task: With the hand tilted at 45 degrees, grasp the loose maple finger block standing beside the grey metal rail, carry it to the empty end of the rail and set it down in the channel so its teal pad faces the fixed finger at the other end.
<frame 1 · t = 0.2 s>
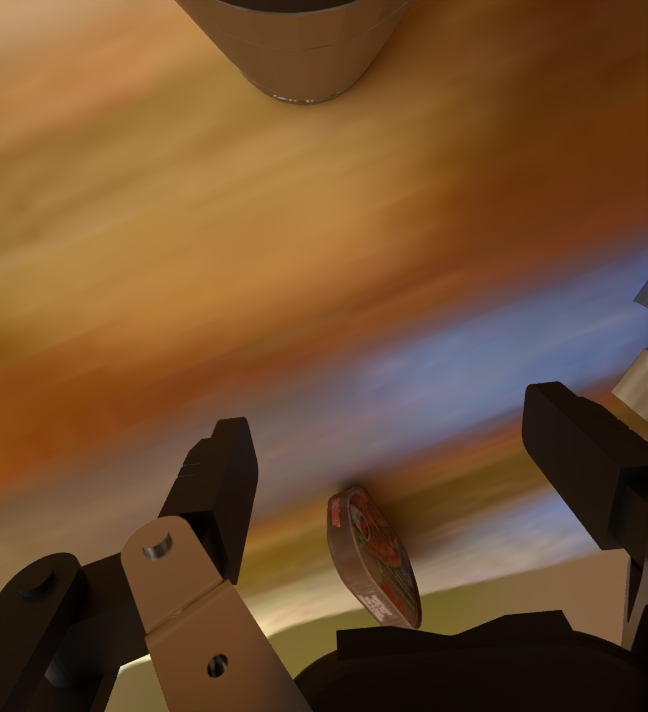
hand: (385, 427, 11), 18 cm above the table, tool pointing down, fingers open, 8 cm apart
tin: (369, 519, 39), on the table
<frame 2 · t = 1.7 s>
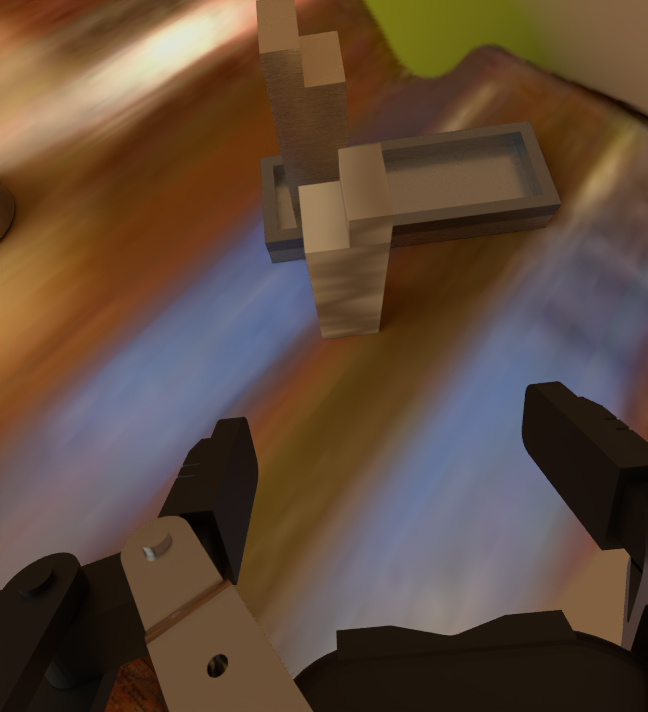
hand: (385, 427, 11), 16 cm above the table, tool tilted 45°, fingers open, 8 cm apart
tin: (125, 680, 23), on the table
maple finger: (347, 310, 30), on the table
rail: (398, 203, 33), on the table
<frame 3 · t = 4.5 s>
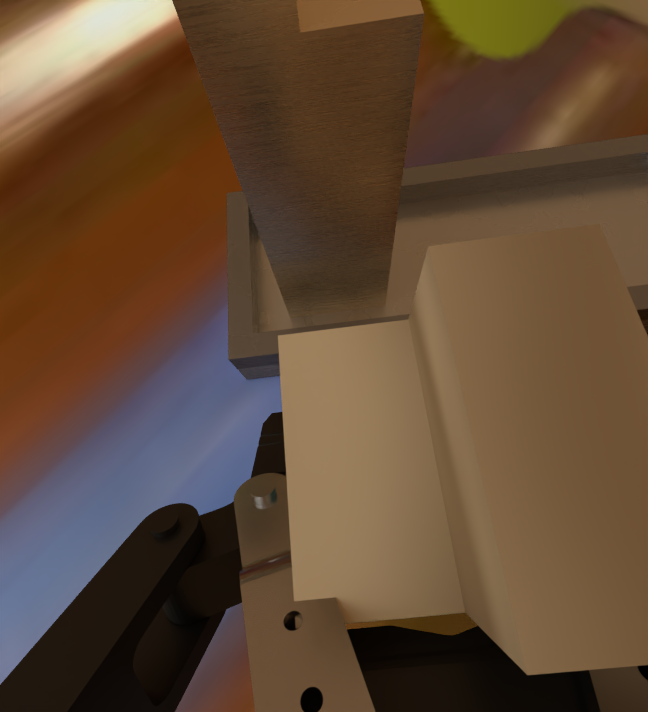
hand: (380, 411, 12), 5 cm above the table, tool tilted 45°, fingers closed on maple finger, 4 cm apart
maple finger: (382, 484, 16), on the table, touching gripper
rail: (467, 270, 19), on the table
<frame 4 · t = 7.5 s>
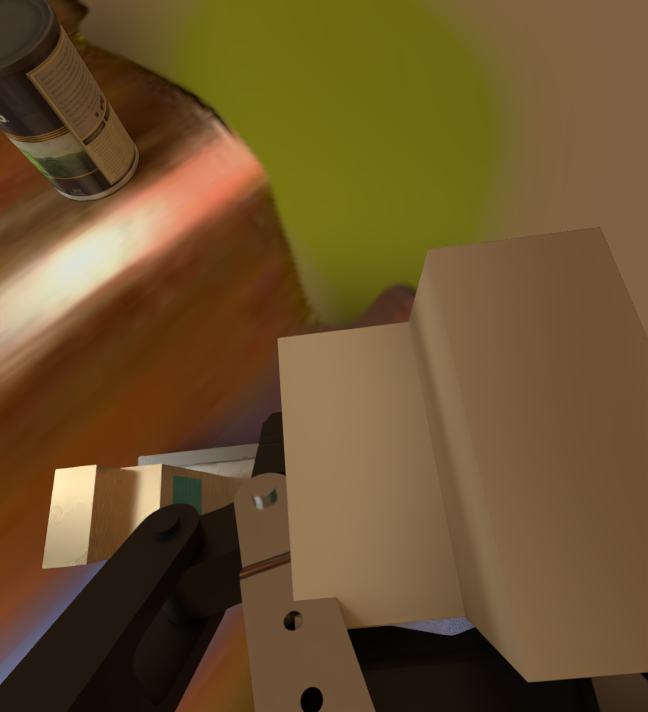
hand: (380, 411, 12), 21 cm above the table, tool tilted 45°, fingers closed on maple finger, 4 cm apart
coffee can: (98, 167, 46), on the table
maple finger: (383, 485, 16), point 16 cm above the table, touching gripper
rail: (288, 499, 31), on the table
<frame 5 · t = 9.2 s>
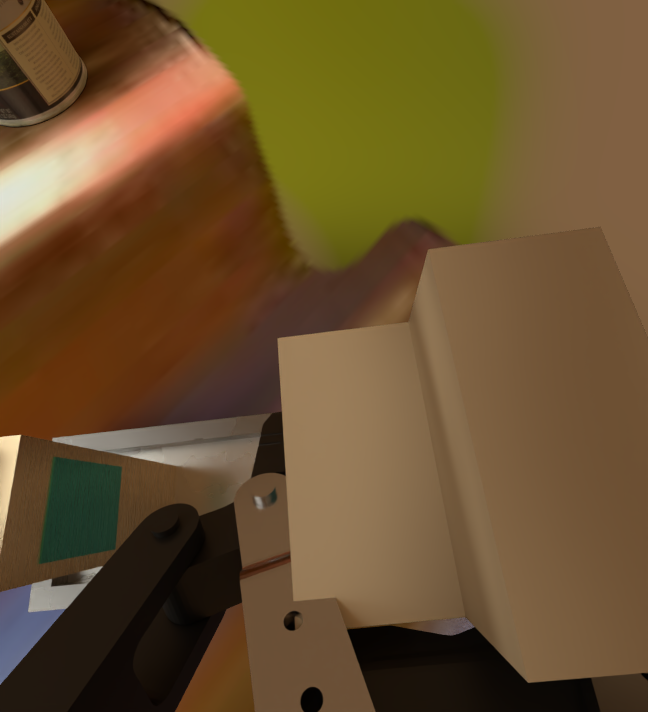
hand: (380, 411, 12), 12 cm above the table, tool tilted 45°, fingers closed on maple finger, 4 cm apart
coffee can: (37, 89, 37), on the table
maple finger: (383, 485, 16), point 7 cm above the table, touching gripper
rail: (260, 497, 23), on the table
when the fingers open (8 cm above the table, at t = 10.7 s): maple finger drops 1 cm, resting on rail.
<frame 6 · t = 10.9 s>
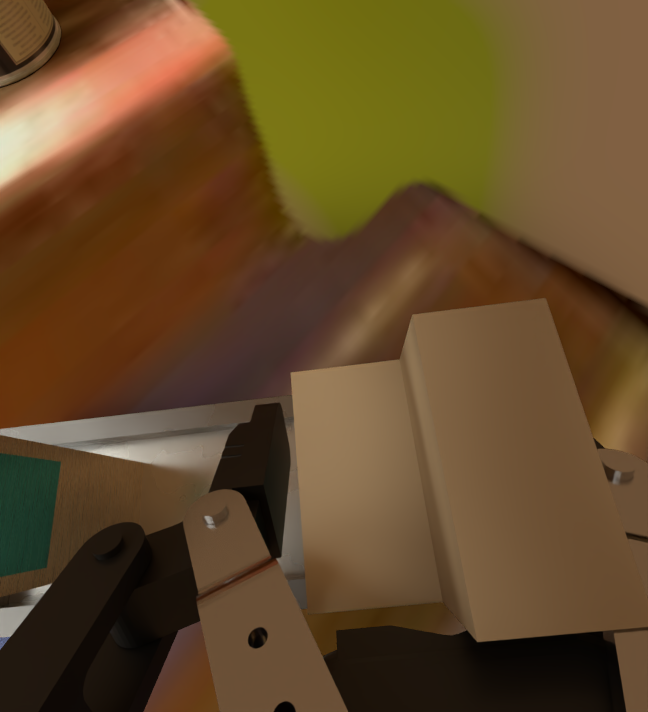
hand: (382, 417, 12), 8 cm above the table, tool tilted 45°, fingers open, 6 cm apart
coffee can: (6, 51, 34), on the table
maple finger: (381, 489, 17), point 1 cm above the table, touching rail
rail: (244, 500, 19), on the table
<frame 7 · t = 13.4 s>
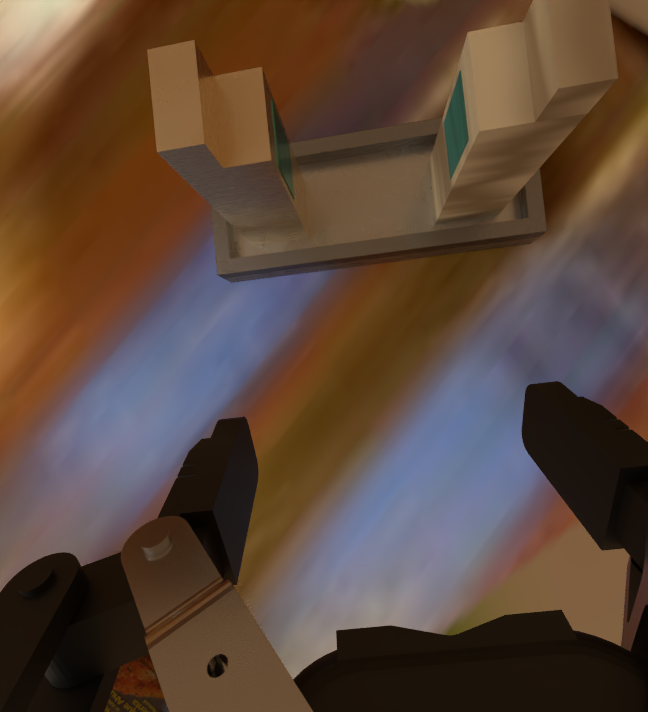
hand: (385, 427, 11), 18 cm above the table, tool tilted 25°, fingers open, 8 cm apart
tin: (140, 641, 31), on the table
maple finger: (463, 188, 27), point 1 cm above the table, touching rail
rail: (368, 207, 29), on the table
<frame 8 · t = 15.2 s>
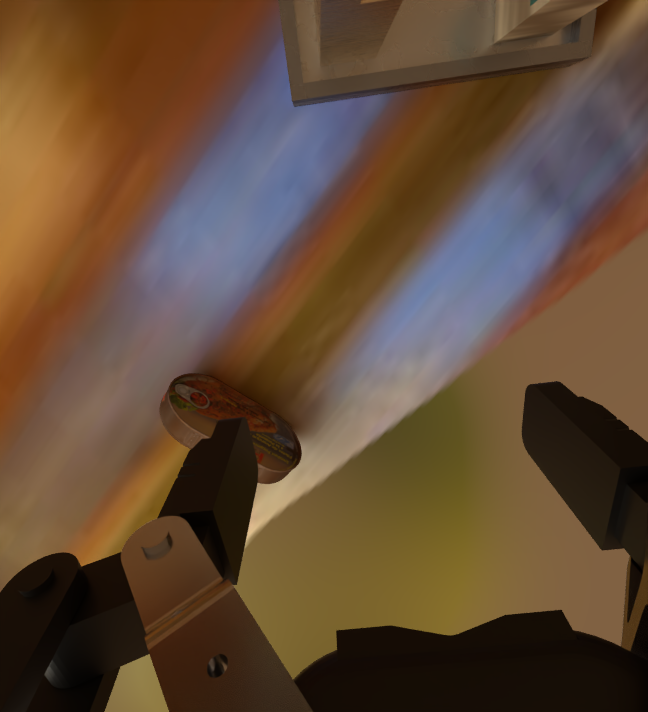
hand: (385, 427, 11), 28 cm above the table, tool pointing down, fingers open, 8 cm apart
tin: (241, 406, 44), on the table
maple finger: (525, 3, 28), point 1 cm above the table, touching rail
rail: (428, 21, 30), on the table
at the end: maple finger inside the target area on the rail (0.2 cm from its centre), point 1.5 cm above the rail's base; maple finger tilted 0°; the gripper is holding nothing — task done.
